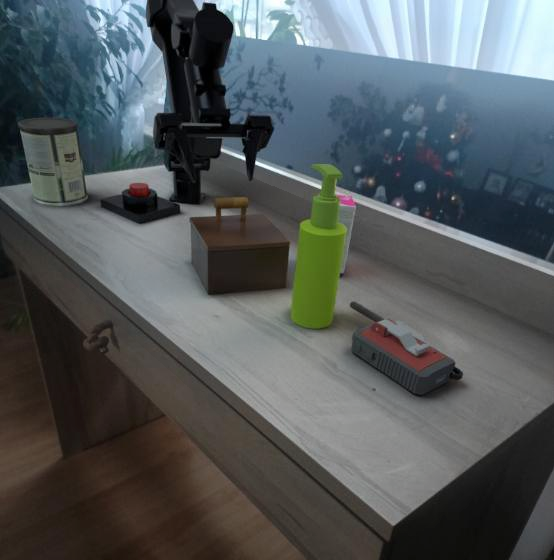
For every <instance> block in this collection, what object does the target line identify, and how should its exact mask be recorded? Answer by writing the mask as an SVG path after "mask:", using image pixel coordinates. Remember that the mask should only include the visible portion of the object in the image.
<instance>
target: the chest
mask: <svg viewBox="0 0 554 560" xmlns="http://www.w3.org/2000/svg"><path fill="white" fill-rule="evenodd" d="M190 252H191V255H190V257H191V265H192V267H193V268H194V271H195V272H196V273H195V274H196V275H197V277H198V278H199V280H200V283H201V284H202V286H203V288H204V290H205V292H206V294H207V295H209V296H210V295H219V294H220V295H222V294H231V293H242V292H243V293H244V292H251V291H253V292H254V291H263V290H272V289H273V290H274V289H283V288H286V287H287V278H288V269H289V257H290V246H285V247H270V248H256V249H241V250H226V251H212V252H208V251H207V250H206V248H205V246H204V245H203V243H202V241H201V240H200V238H199V236H198V235H197V233H196V231H195V230H194V228H193V226H192V225H191V224H190Z"/></svg>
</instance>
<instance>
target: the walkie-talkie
mask: <svg viewBox="0 0 554 560" xmlns="http://www.w3.org/2000/svg"><path fill="white" fill-rule="evenodd" d="M349 308H350V309H352V310H354V311H356V312H357V313H359V314H361V315H362V316H364V317H365V318H367V319H369V320H370V321H372V322H374V323H372V324H370V325H367V326H363V327H358V328H356V329H355V330H354V332H353V334H352V336H351V339H352V340H351V341H352V343H351V348H350V350H351V352H352V353H353V354H354V355H356V356H358V357H359V358H361V359H362V360H364V361H365V362H367V363H368V364H370V365H371V366H373V367H374V368H375V369H377V370H378V371H379V372H381V373H383V374H385V375H386V376H387V377H389V378H390V379H391V380H393V381H395V382H396V383H398V384H399V385H401V386H402V387H404V388H405V389H407V390H408V391H410V392H411V393H413V394H414V395H419V396H420V395H421V396H423V395H425V394H426V393H428V392H431V391H433V390H435V389H436V388H438V387H440V386H442V385H444V384H446V383H448V382H450V381H451V380H454V381H461V380H462V379H463V376H464V372H463V371H462V370H461V369H460V368H458V367H456V361H455V360H454V359H453V358H452V357H450V356H448V355H446V354H445V353H443V352H441V351H439V350H438V349H436V348H434V347H433V346H431V345H430V344H428V343H427V342H426V340H425V338H424V336H423V333H420V332H419V331H417V330H415V329H414V328H412V327H410V326H408V325H406V324H405V323H404V322H403V321H402V320H396V321H394V320H391V319H389V318H384V317H382V316H380V315H379V314H377V313H375V312H374V311H372V310H370V309H368V308H367V307H365V306H363V305H362V304H361V303H358V302H357V301H354V300H353V301H351V302H350V303H349Z"/></svg>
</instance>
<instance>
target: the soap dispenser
mask: <svg viewBox="0 0 554 560" xmlns="http://www.w3.org/2000/svg"><path fill="white" fill-rule="evenodd" d="M310 167H311V169H312V170H316V171H318V172H319V174H320V175H322V180H321V187H320V188H321V189H320V192H318V193H319V194H318V193H317V194H316V195H314V196H313V197H312V206H311V213H310V218H308V219H305V220H303V221H301V222H300V224H299V230H298V231H299V232H298V238H297V239H298V241H297V249H296V259H295V268H294V269H295V270H294V279H293V289H292V296H291V297H292V298H291V305H290V306H291V307H290V319H291V320H292V322H293V323H294V324H296V325H298V326H300V327H302V328H306V329H314V330H316V329H317V330H319V329H324V328H326V327H328V326H330V325H332V323H333V321H334V320H333V319H334V313H335V307H336V301H337V296H338V295H337V294H338V288H339V281H340V277H341V276H340V270H341V264H342V257H343V251H344V245H345V238H346V232H347V228H346V227H345V226H344V225H343V224H341V223H339V222H338V217H339V211H340V204H341V199H340V198H339V197H337V196H336V195H337V194H336V189H337V181H338V180H342V179H343V176H344V174H343V173H342V171H340V170H339V169H338V168H337V166H334V165H333V164H330V163H311V164H310Z"/></svg>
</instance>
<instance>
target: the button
mask: <svg viewBox="0 0 554 560" xmlns="http://www.w3.org/2000/svg"><path fill="white" fill-rule="evenodd" d="M128 189H130V195H134V196H146V195H149V189H150V188H149V184H147V183H146V182H145V183H144V182H132V183H130V184H129V185H128Z"/></svg>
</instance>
